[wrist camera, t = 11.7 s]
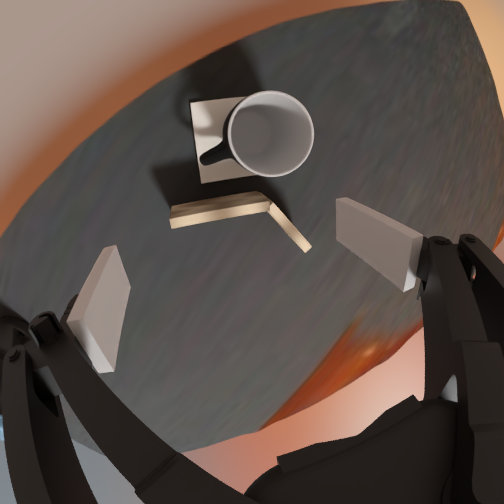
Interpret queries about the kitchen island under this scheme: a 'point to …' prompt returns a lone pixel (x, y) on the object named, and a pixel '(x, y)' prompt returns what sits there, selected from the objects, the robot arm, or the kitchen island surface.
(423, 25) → the kitchen island surface
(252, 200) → the wooden boomerang
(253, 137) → the mug
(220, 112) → the plate
